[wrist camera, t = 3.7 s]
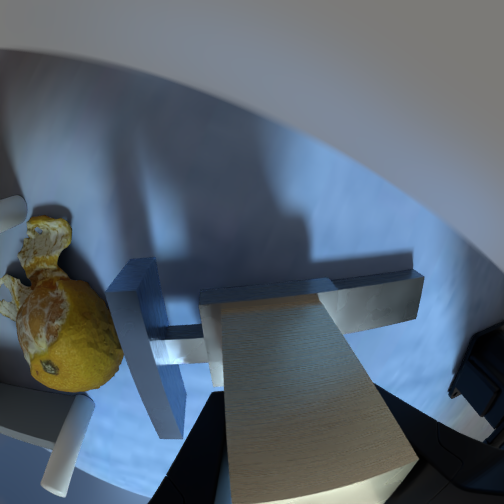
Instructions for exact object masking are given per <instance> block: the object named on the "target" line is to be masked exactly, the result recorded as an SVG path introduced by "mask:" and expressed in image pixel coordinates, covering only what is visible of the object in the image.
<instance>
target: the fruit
mask: <svg viewBox="0 0 504 504" xmlns="http://www.w3.org/2000/svg"><path fill="white" fill-rule="evenodd" d="M36 227H39V228H40V229H41V230H43V231H42V234H41V235H39V234H38V233H37V232H36V231H35V229H34V228H36ZM27 234H28V236H29V238H24V243H23V248H22V249H21V251H20V252H19V253H18V258H19V260H20V262H21V266H22V267H23V269H24V270H25V272H26V276H27V278H28V279H30V281H31V283H32V285H31V286H30V287H27V286H24V285H23V284H21V282H20V279H17V278H13V277H12V276H11V275H7V274H6V275H4V276H3V277H2V278H0V287H1V285H2V284H3V283H4V285H5V286H6V287H7V288H9V290H10V292H11V295H12V301H11V302H7V301H5V300H4V299H3V300H2V301H0V313H1V314H2V315H4V316H6V317H8V318H10V319H11V320H13V321H15V322H16V327H17V335H18V340H19V343H20V346H21V348H22V350H23V352H24V357H25V359H26V360H27V362H28V363H29V366H30V372H31V375H32V376H33V377H34V378H35V379H36V380H37V381H39V382H40V383H42V384H44V385H45V386H47V387H49V388H52V389H56V390H59V391H65V392H81V391H82V392H84V391H89V390H92V389H99V388H100V386H102V385H104V384H105V383H106V382H107V381H109V380H110V379H111V378H112V377H113V376H114V374H115V373H116V372H117V371H118V370H119V365H120V364H121V362H122V359H123V356H124V353H123V350H122V347H121V344H120V341H119V338H118V335H117V332H116V329H115V326H114V322H113V319H112V316H111V312H110V309H109V307H108V308H107V307H106V303H105V301H104V300H103V299H102V298H100V297H99V296H98V294H97V293H96V292H95V291H94V290H93V289H91V287H90V285H89V283H88V282H85V281H82V280H77V281H76V280H71V279H70V278H69V277H68V276H67V274H66V273H65V272H64V271H63V270H62V269H61V268H59V267H58V265H57V261H58V257H59V254H60V253H61V251H62V250H63V249H64V248H67V247H68V245H69V244H70V243H71V240H72V228H71V226H70V224H69V223H68V222H67V221H66V220H64V219H62V218H59V219H54V218H50V217H49V216H46V215H41V216H37V217H34V216H33V217H31V218H30V220H29V221H27Z"/></svg>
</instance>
